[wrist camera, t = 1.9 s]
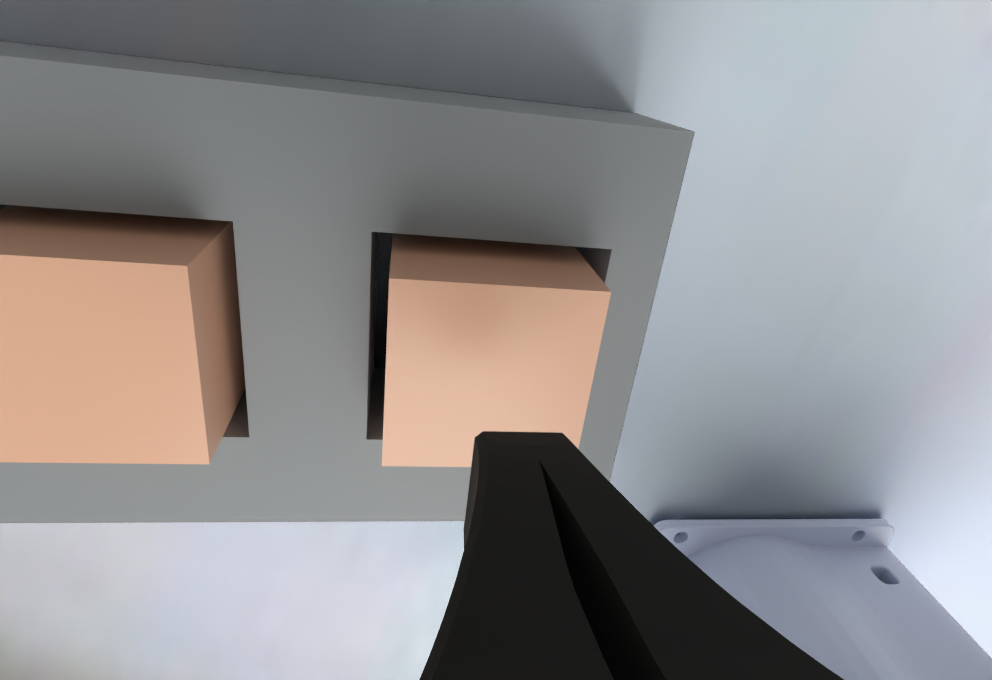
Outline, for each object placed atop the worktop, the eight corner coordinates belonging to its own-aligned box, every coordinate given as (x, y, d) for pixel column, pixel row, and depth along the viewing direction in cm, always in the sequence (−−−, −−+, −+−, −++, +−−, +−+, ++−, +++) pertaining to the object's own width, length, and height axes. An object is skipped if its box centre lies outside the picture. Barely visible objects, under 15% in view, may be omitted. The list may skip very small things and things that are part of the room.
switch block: (635, 113, 15) (694, 132, 12) (568, 442, 19) (599, 520, 16) (-48, 35, 12) (-199, 34, 9) (50, 434, 17) (-30, 523, 14)
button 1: (235, 217, 13) (187, 265, 10) (247, 383, 15) (209, 464, 12) (19, 201, 12) (-96, 248, 10) (60, 377, 14) (-27, 461, 11)
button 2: (571, 242, 14) (611, 292, 12) (545, 392, 16) (574, 468, 13) (393, 229, 14) (388, 278, 11) (386, 388, 15) (381, 466, 13)
